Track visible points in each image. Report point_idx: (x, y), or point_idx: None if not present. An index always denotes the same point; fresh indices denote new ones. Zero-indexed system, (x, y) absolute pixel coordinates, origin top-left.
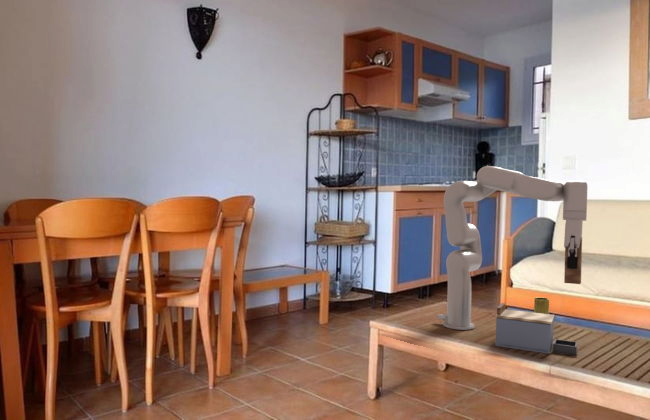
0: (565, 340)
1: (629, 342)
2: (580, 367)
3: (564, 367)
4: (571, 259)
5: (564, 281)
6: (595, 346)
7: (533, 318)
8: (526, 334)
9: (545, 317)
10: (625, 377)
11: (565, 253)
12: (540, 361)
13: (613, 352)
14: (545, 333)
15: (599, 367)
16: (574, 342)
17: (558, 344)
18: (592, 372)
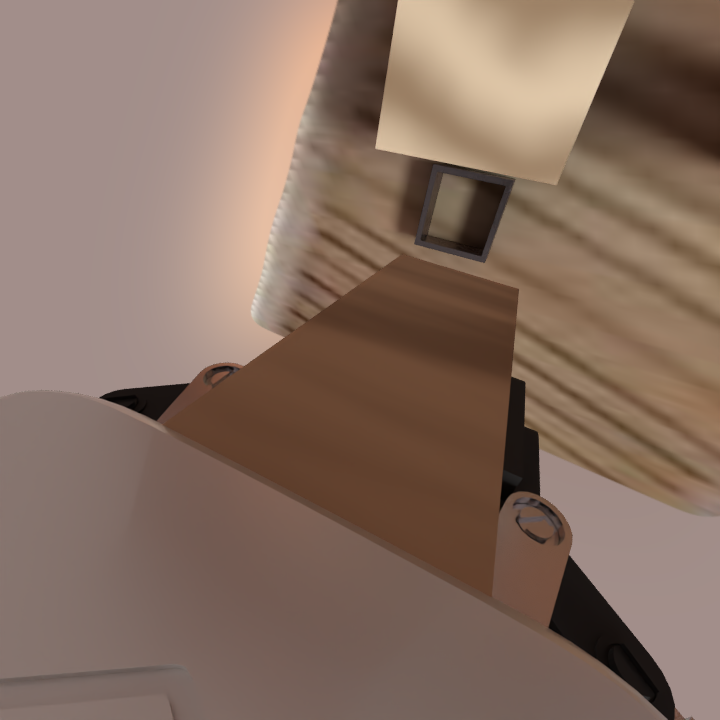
0: (498, 221)
1: (634, 453)
2: (316, 226)
3: (298, 181)
4: None
5: (398, 257)
6: (558, 331)
7: (424, 42)
8: None
9: (469, 121)
10: (289, 310)
11: (246, 369)
12: (323, 108)
13: None
14: None
15: (335, 276)
16: (483, 251)
17: (429, 183)
18: (291, 248)
